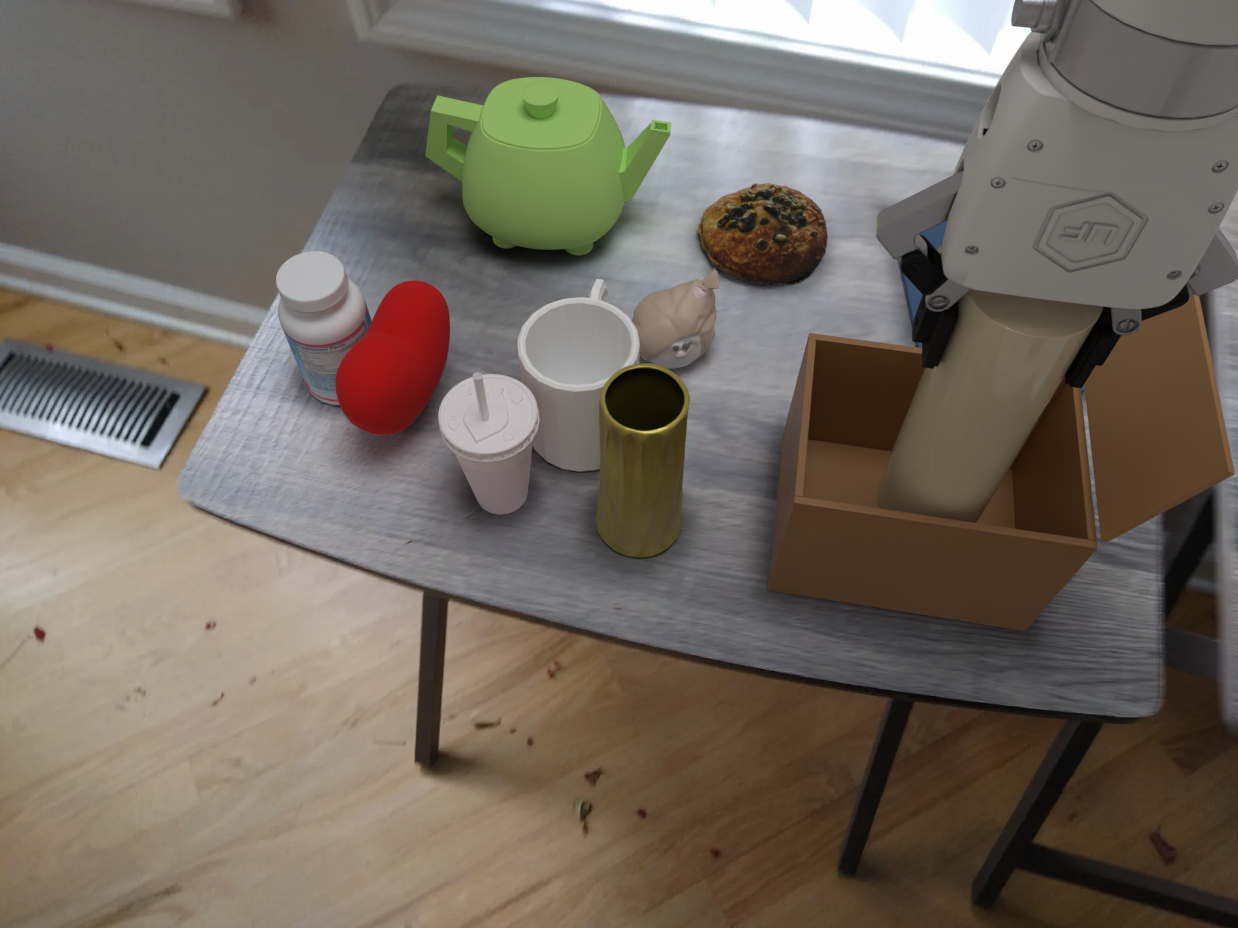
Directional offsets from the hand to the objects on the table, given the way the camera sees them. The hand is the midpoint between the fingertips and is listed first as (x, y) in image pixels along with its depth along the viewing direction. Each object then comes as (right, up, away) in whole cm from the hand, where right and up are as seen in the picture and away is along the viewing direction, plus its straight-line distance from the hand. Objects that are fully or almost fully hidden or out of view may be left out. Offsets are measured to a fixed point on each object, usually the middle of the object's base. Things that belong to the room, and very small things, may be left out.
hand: (1000, 355), depth 50 cm
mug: (-22, -1, +24) cm, 33 cm away
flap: (+10, -3, +4) cm, 11 cm away
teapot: (-25, +16, +36) cm, 46 cm away
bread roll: (-7, +13, +34) cm, 37 cm away
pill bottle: (-40, +1, +26) cm, 48 cm away
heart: (-35, -2, +24) cm, 42 cm away
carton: (0, -10, +19) cm, 21 cm away
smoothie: (-28, -8, +20) cm, 35 cm away
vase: (-18, -10, +19) cm, 28 cm away
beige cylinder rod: (0, -8, +12) cm, 14 cm away
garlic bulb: (-15, +3, +27) cm, 32 cm away
